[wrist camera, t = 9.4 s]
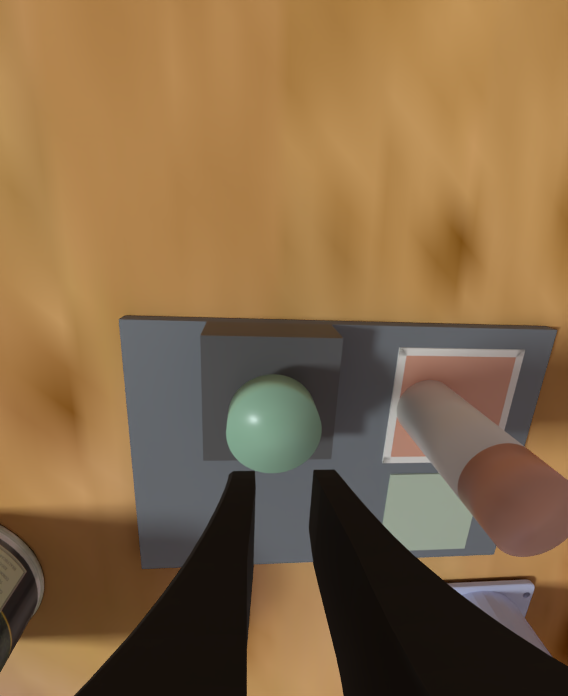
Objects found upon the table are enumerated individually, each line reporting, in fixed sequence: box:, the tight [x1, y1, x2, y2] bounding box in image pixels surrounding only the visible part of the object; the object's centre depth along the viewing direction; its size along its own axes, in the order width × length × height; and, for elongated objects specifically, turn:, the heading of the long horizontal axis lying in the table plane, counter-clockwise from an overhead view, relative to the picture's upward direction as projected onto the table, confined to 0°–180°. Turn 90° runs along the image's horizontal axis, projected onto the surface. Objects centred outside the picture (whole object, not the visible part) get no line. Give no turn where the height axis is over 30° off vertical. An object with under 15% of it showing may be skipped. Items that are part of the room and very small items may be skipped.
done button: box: [226, 374, 322, 473], centre depth 14 cm, size 4×4×1 cm
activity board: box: [119, 316, 557, 569], centre depth 21 cm, size 15×22×1 cm
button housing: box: [200, 322, 343, 461], centre depth 17 cm, size 6×6×2 cm
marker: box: [396, 380, 568, 557], centre depth 16 cm, size 3×3×8 cm
